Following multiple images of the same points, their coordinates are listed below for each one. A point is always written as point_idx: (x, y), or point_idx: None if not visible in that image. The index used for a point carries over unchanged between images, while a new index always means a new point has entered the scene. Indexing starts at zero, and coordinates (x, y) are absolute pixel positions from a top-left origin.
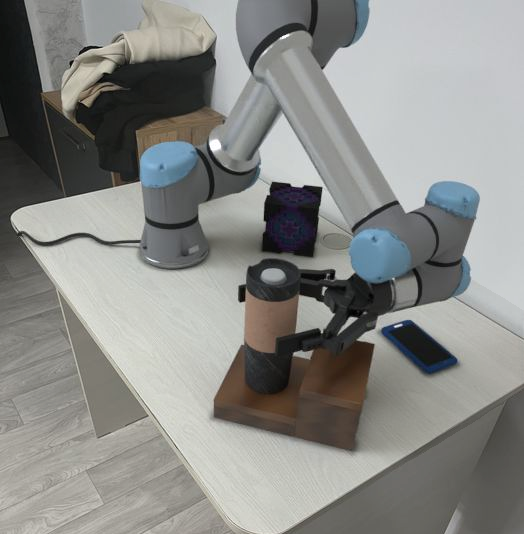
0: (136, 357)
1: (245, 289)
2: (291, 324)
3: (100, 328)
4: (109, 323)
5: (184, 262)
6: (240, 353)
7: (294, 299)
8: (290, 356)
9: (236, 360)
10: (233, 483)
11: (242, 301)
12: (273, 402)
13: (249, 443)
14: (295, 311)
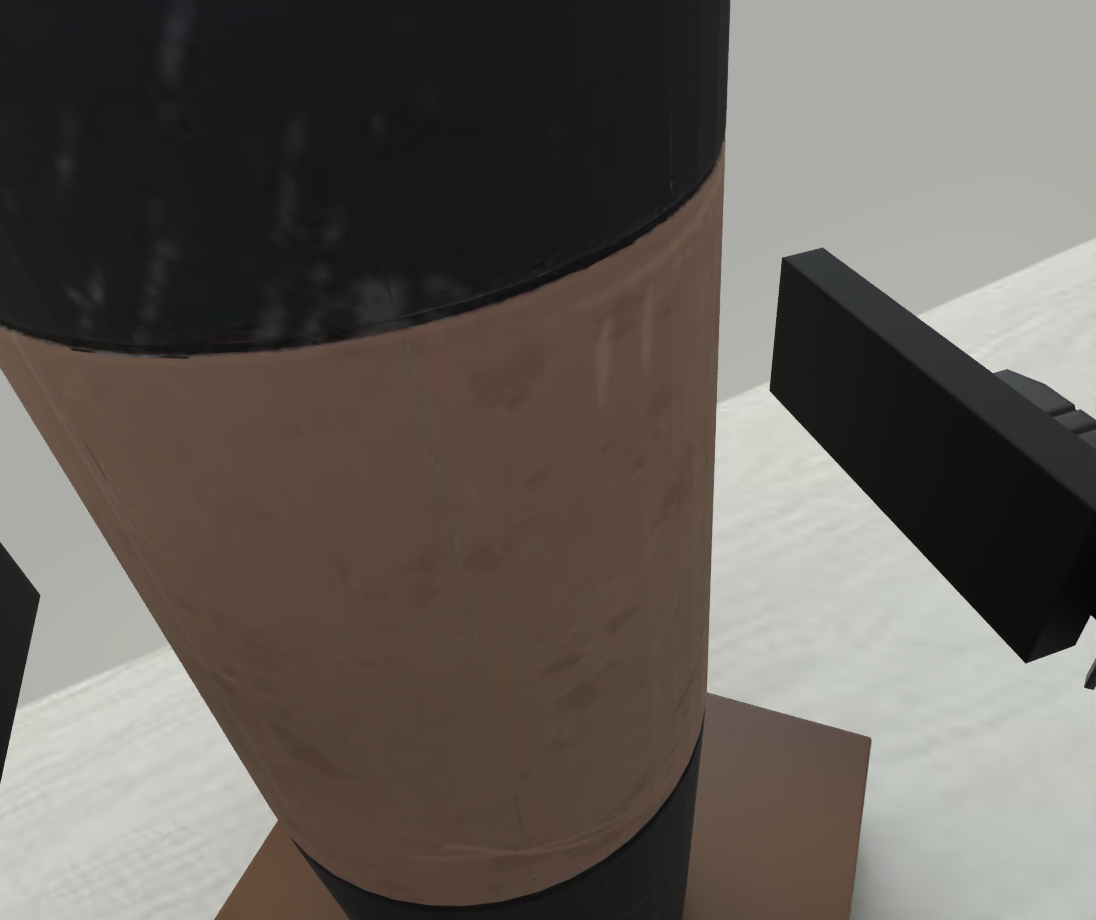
0: (790, 423)
1: (808, 305)
2: (177, 653)
3: (929, 325)
4: (969, 338)
5: None
6: (778, 731)
7: (1, 358)
8: (348, 912)
9: (706, 708)
10: (61, 761)
11: (782, 396)
12: (312, 913)
13: (238, 835)
14: (152, 582)
